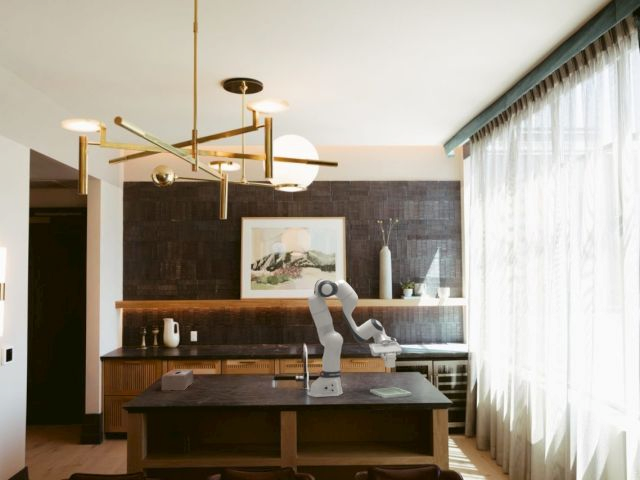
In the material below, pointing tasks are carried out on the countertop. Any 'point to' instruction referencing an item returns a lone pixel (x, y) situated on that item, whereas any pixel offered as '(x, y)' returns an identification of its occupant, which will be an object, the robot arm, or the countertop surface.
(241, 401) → the countertop surface
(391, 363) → the caddy
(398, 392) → the tray
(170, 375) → the tissue box cover
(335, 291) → the robot arm
